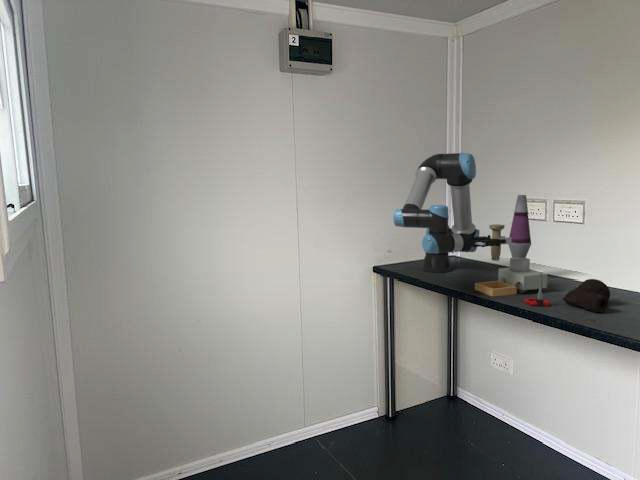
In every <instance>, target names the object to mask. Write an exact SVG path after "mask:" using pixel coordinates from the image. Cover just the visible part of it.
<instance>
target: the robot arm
mask: <svg viewBox="0 0 640 480" xmlns="http://www.w3.org/2000/svg"><path fill="white" fill-rule="evenodd" d="M475 160H476V159H475V157H474V155H473V154H472V153H470V152H469V153H468V152H456V153H453V152H452V153H436V154H433V155H431V156H430V157H428V158H426V159H425V160H424V161H422V163H420V164H419V166H418V168H417V169H416V172H415V179H414V181H413V184H412V186H411V188H410V190H409V194H408V195H407V198H406V200H405V202H404V205H403V207H402V208H396V209H395V210H394V211H393V224H394V226H395V227H399V228H400V227H401V228H415V229H416V228H419V229H426V232H425V235H424V236H423V237H422V240H421V241H422V242H421V246H422V249H423V251H424V252H425V256H424V259H423V260H422V263H421V270H423V271H424V272H429V273H448V272H451V271H452V264H451V260H450V257H449V253H451V254H454V253H459V252H463V253H475V252H476V251H477V249H478V248H479V247H481V248H485V247H491V246H498V247H499V246H500V245H501V246H502V245H508V244H511V237H509V236H507V237H506V236H505V235H502V236H501V238H497V239H492V236H491V235H490V234H487V236H485V235H484V236H480V234H481V233H480V229H478V228H476V225H475V224H474V223H473V218H472V217H473V216H472V203H471V202H472V201H471V189H470V188H471V187H470V184H471V183H473V181H474V179H475V178H476V175H477V169H476V168H477V165H476V161H475ZM436 180H446V184H447V185H448V186H450V194H451V195H450V196H451V206H452V215H453V225H452V226H451V228H450V225H449V207H448V205H446V204H445V205H444V204H431V205H429V208H428V209H423V206H424V204H425V202H426V198H427V196H428V193H429V191H430V190H431V187H432V184H434V183H435V182H436Z"/></svg>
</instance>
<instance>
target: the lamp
mask: <svg viewBox="0 0 640 480" xmlns="http://www.w3.org/2000/svg"><path fill="white" fill-rule="evenodd" d="M513 212H514V213H513V217H512V222H511V228H510V231H509V236H508V237H511V244H507V245H508V248H509V251H510V253H511V254H510V255H511V258H514V257H520V258H527V256H528V253H529V250H530V248H531V246H532V240H531V231H530V230H531V229H530V221H529V208H528V200H527V195H526V194H517V199H516V203H515V205H514V211H513Z"/></svg>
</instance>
